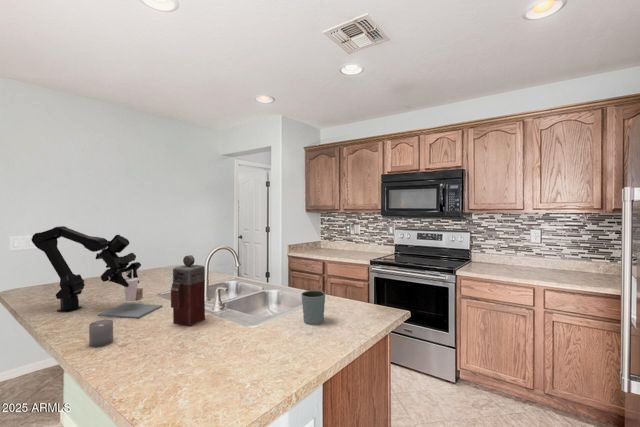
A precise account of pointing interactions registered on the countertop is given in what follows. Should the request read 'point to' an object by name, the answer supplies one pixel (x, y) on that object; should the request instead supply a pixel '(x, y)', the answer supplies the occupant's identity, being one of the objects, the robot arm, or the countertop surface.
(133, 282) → the smoothie
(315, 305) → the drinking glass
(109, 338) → the grey rounded canister
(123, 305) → the slate mat
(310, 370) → the countertop surface
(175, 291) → the french press
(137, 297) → the walnut block
